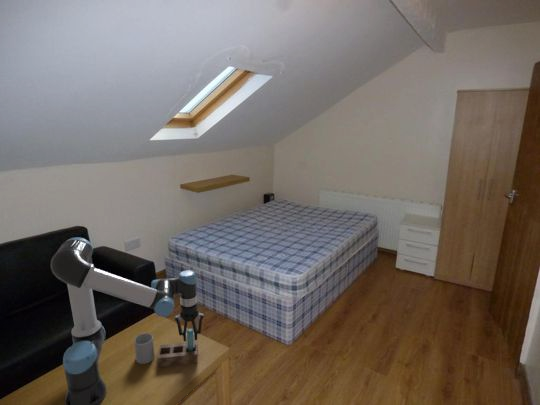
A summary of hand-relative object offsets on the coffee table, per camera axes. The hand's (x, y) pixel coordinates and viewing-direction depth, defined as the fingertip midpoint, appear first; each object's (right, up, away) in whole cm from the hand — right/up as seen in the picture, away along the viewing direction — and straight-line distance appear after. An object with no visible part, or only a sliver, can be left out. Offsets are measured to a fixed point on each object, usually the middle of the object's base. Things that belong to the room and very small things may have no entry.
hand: (190, 345), depth 162 cm
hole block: (-6, -6, +1) cm, 9 cm away
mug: (-23, -6, +2) cm, 23 cm away
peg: (0, -3, +1) cm, 3 cm away
